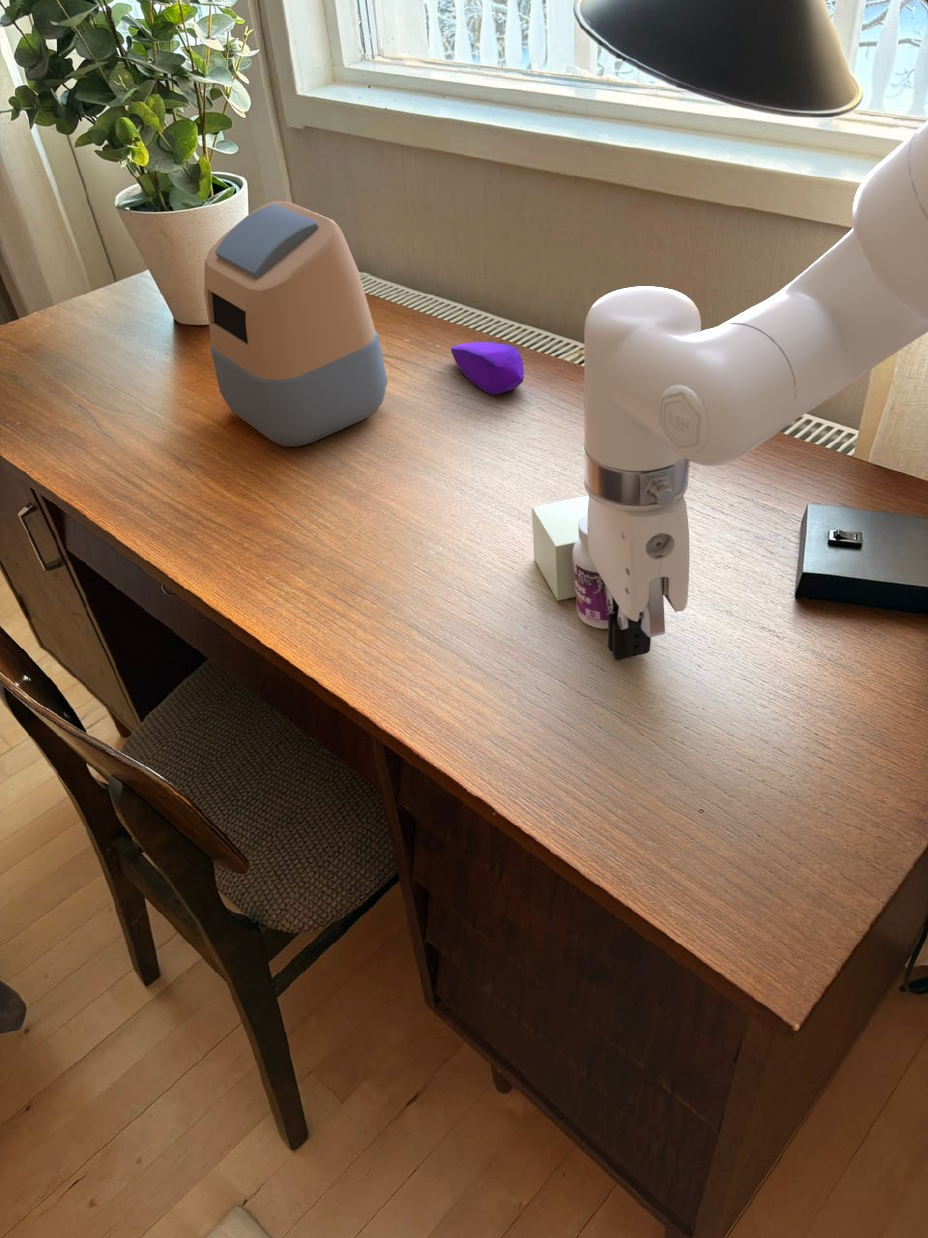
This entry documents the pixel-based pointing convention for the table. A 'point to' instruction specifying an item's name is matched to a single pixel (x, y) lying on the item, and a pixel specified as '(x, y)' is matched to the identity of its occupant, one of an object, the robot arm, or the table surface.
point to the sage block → (558, 542)
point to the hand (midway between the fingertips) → (628, 650)
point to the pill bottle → (588, 583)
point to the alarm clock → (291, 326)
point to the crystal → (490, 365)
